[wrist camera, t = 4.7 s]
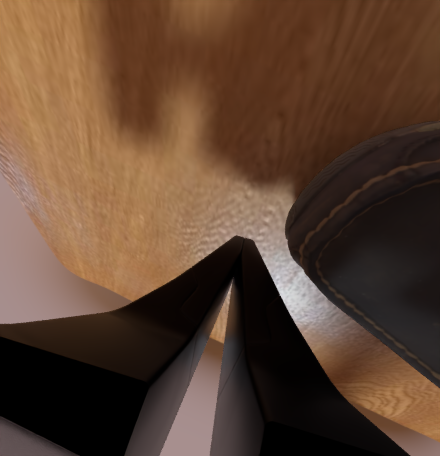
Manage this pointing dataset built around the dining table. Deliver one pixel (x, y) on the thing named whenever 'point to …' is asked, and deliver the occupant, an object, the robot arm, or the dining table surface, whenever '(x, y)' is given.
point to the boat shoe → (379, 239)
